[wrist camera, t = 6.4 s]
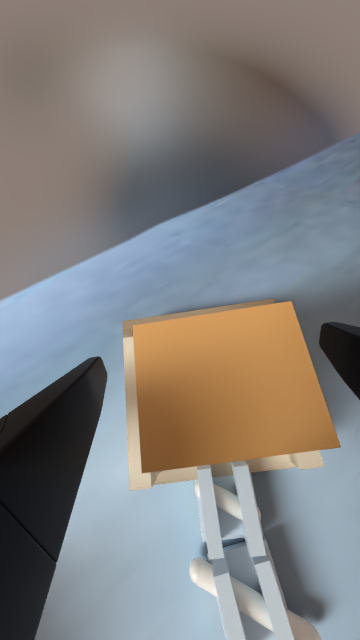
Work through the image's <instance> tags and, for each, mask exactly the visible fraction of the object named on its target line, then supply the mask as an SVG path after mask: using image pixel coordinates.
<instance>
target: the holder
mask: <svg viewBox="0 0 360 640" xmlns="http://www.w3.org/2000/svg"><path fill="white" fill-rule="evenodd" d="M269 304H275V303H274V299H267V300H260V301H254V302H247V303H241V304H234V305H227V306H221V307H214V308H208V309H201V310H195V311H188V312H181V313H175V314H168V315H162V316H155V317H148V318H142V319H135V320H129V321H123V344H124V368H125V392H126V416H127V440H128V464H129V488H130V491H133V490H141V489H149V488H152V486H153V485H157V484H165V483H173V482H181V481H189V480H197V479H198V474H197V466H195V467H188V468H180V469H172V470H165V471H157V472H150V473H142V470H141V454H140V438H139V422H138V406H137V390H136V374H135V358H134V342H133V325H140V324H146V323H153V322H159V321H165V320H172V319H178V318H185V317H191V316H198V315H204V314H211V313H217V312H224V311H230V310H236V309H243V308H249V307H256V306H262V305H269ZM244 461H245V462H246V463H247V465H248V468H249V473H253V472H261V471H269V470H277V469H286V468H294V467H298V468H300V469H301V470H302V469H310V468H318V467H324V464H323V460H322V457H321V454H320V451H319V450H317V451H309V452H302V453H294V454H286V455H279V456H271V457H264V458H256V459H248V460H244ZM210 468H211V474H212V478H213V477H221V476H229V475H233V471H232V465H231V462H226V463H218V464H210Z"/></svg>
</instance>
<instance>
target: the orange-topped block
mask: <svg viewBox="0 0 360 640" xmlns="http://www.w3.org/2000/svg"><path fill="white" fill-rule="evenodd" d="M133 342H134V358H135V374H136V390H137V406H138V422H139V438H140V454H141V470H142V473H150V472H157V471H165V470H172V469H180V468H188V467H195V466H203V465H210V464H218V463H226V462H233V461H241V460H248V459H256V458H264V457H271V456H279V455H286V454H294V453H302V452H309V451H317V450H324V449H332V448H340V447H341V446H340V443H339V440H338V437H337V434H336V431H335V428H334V425H333V422H332V419H331V417H330V414H329V411H328V408H327V405H326V402H325V399H324V396H323V393H322V390H321V387H320V384H319V381H318V378H317V375H316V372H315V369H314V366H313V363H312V360H311V358H310V355H309V352H308V349H307V346H306V343H305V340H304V337H303V334H302V331H301V328H300V325H299V322H298V319H297V316H296V313H295V310H294V307H293V304H292V301H288V302H282V303H275V304H269V305H262V306H256V307H249V308H243V309H236V310H230V311H224V312H217V313H211V314H204V315H198V316H191V317H185V318H178V319H172V320H165V321H159V322H153V323H146V324H140V325H133Z"/></svg>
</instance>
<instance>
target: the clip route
mask: <svg viewBox="0 0 360 640" xmlns="http://www.w3.org/2000/svg"><path fill="white" fill-rule="evenodd" d="M231 465H232V471H233V475H229V476H221V477H213V478H212V474H211V468H210V465H203V466H197V474H198V479H197V480H194V481H195V492H196V496H197V504H198V512H199V520H200V528H201V536H202V542H207V549H208V552H207V553H206V554H207V561H208V562H207V561H205V560H203V559H202V558H199V557H197V558H194V559H193V560H192V562H191V564H190V569H189V572H190V577H191V579H192V581H193V582H194V583H195V584H197V585H198V586H200V587H201V588H203V589H205V590H206V591H208V592H209V593H211V594H213V595H214V596H216V599H217V604H218V608H219V612H220V616H221V621H222V625H223V629H224V634H225V638H226V640H321V638H320V635H319V633H318V631H317V629H316V628H315V627H314V626H313V625H312V624H311V623H310V622H308V621H306V620H305V619H303V618H301V617H300V616H298V615H296V614H295V613H293V612H291V611H290V610H288V607H287V604H286V600H285V597H284V594H283V591H282V588H281V585H280V581H279V578H278V575H277V572H276V569H275V565H274V562H273V559H272V556H271V553H270V549H269V546H268V543H267V540H266V538H265V536H262V535H263V530H262V525H261V513H260V510H259V508H258V505H257V500H256V495H255V490H254V485H253V481H252V476H251V473H249V468H248V465H247V463H246V462H245V461H244V460H241V461H233V462H231ZM235 538H245V541H244V542H241V543H238V544H234V545H231V546H227V547H224V548H223V547H222V540H226V539H235Z"/></svg>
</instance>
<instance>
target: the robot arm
mask: <svg viewBox="0 0 360 640" xmlns="http://www.w3.org/2000/svg"><path fill="white" fill-rule="evenodd" d="M319 344H320V347H321V349H322V350H323V352H324V353H325V355H326V356H327V358H328V359H329V360H330V362H331V363H332V365H333V366H334V368H335V369H336V371H337V372H338V374H339V375H340V376H341V378H342V379H343V380H344V382H345V383H346V384H347V385H348V387H349V388H350V389H351V390H352V391H353V392H354V394H355V395H356V396H357V397H358V398H359V400H360V327H355V326H351V325H346V324H342V323H337V322H329V323H324V324H323V325H322V326H321V332H320V339H319ZM106 382H107V372H106V369H105V366H104V363H103V361H102V359H101V357H91V358H89V359H87V360H86V361H84V362H83V363H81V364H80V365H78V366H77V367H75V368H74V369H73V370H71V371H70V372H68V373H67V374H65V375H64V376H62V377H61V378H59V379H58V380H56V381H55V382H53V383H52V384H51V385H49V386H48V387H46V388H45V389H43V390H42V391H40V392H39V393H37V394H36V395H34V396H33V397H31V398H30V399H28V400H27V401H26V402H24V403H23V404H21V405H20V406H18V407H17V408H15V409H14V410H12V411H11V412H9V413H8V415H5V416H3V417H2V418H0V640H34V639H35V636H36V632H37V629H38V626H39V622H40V619H41V615H42V612H43V609H44V605H45V602H46V598H47V595H48V592H49V588H50V585H51V581H52V578H53V575H54V571H55V568H56V562H57V560H58V557H59V554H60V550H61V547H62V543H63V540H64V537H65V533H66V530H67V526H68V523H69V520H70V516H71V513H72V509H73V506H74V503H75V499H76V496H77V492H78V489H79V486H80V482H81V479H82V475H83V472H84V469H85V465H86V462H87V458H88V455H89V452H90V448H91V445H92V441H93V438H94V435H95V431H96V428H97V424H98V421H99V418H100V414H101V410H102V405H103V399H104V393H105V388H106Z"/></svg>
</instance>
